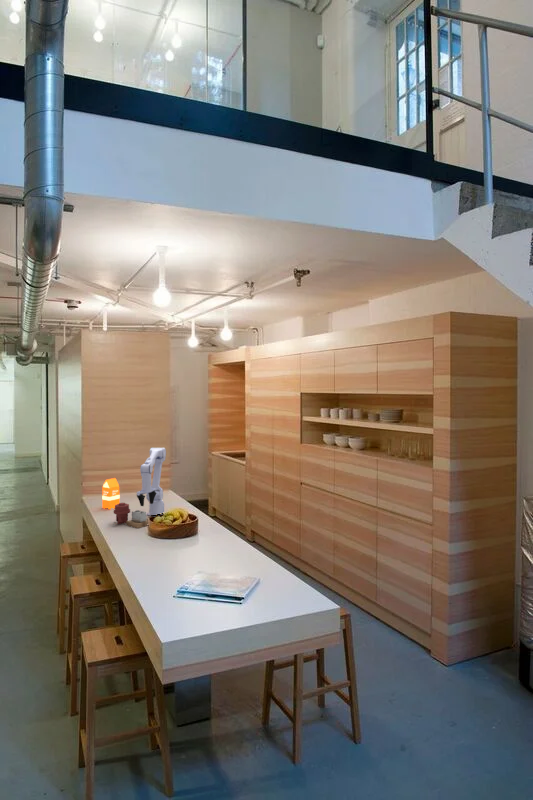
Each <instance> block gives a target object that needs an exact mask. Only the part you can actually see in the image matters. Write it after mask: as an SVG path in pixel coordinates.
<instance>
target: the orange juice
mask: <svg viewBox="0 0 533 800" xmlns="http://www.w3.org/2000/svg"><path fill="white" fill-rule="evenodd" d="M101 488H102V489H101V491H102V493H101V497H102V502H101V503H102V504H101V506H102V509H105V508H108V509H107V510H112V509H111V508H113V509H115V505H116V504H119V503H121V501H120V499H121V495H120V494H121V493H120V484H119V483H118V481H117V479H116V477H113V478H107V479H105V481H104V482H103V485H102V487H101Z"/></svg>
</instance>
